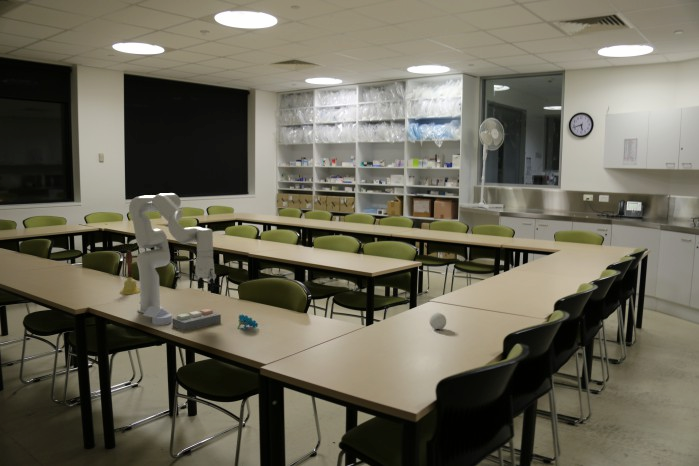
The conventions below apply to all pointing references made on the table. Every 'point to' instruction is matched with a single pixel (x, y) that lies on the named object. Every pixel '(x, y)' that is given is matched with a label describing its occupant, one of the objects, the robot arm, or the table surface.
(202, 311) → the button
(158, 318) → the wedge on round base
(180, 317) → the button
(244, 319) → the blue flower cluster
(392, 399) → the table surface
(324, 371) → the table surface
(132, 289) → the handbell
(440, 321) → the ball
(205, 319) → the button panel
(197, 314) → the button
